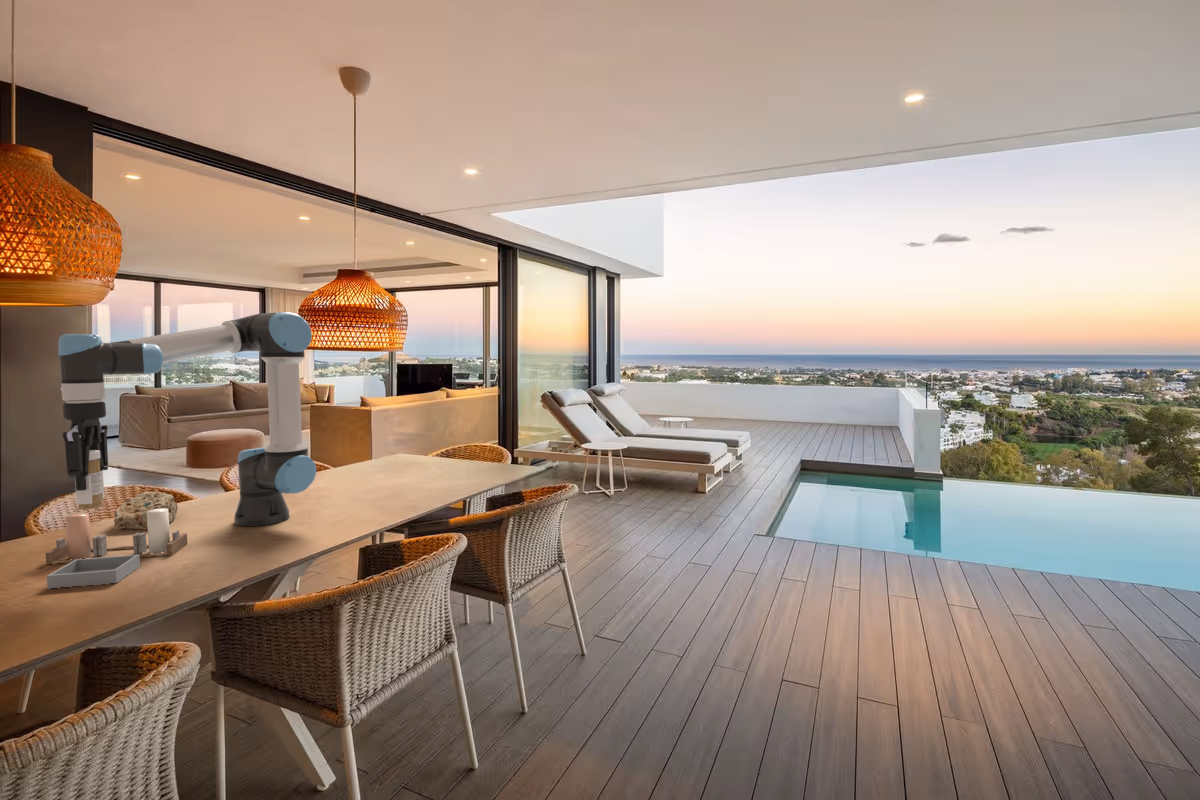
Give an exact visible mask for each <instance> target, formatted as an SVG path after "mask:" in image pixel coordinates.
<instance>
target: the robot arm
mask: <svg viewBox="0 0 1200 800" xmlns="http://www.w3.org/2000/svg"><path fill="white" fill-rule="evenodd" d="M312 334H313V333H312V330H311V326H310V325H309V323H308V322H307V320H305V318H303V316H301V315H300V314H297V313H294V312H286V311H277V312H268V313H265V312H264V313H263V312H262V313H256V314H252V315H248V316H244V317H241V318H237V319H233V320H232V319H231V320H226V321H223V322H222V323H221V325H216V326H215V325H214V326H209V327H203V328H202V327H201V328H197V329H191V330H190V329H189V330H184V331H177V332H171V333H170V332H169V333H165V334H163V333H162V334H158V335H157V334H156V335H152V336H145V337H140V338H132V339H127V340H121V341H120V340H119V341H114V342H103V341H102V337H101V336H100V335H99V334H90V333H89V334H88V333H82V334H81V333H80V334H79V333H64V334H62V335H61V336H59V338H58V345H57V346H58V353H57V356H58V361H59V371H60V383H61V387H60V391H61V398H62V401H65V402H64V403H63V404H62V416H63V418H64V420H67V421H69V420H70V421H71V423H70V431H64V432H62V437H63V440H64V445H65V446H64V447H65V459H66V470H67V471H66V472H67V475H68V477H69V478H70V477H71V478H72V477H74V485H75V499H76V501H75V502H76V505H79V504H91V503H93V502H92V487H91V475H88V465H89V450H99V451H100V471H101V484H102V500H103V499H104V498H105V485H104V471H107V470H108V469H109V455H108V454H109V453H108V436H107V435H108V425H107V424H105V425H104V424H103V425H101V421H100V419H102V418H105V417H106V416H107V410H106V409H107V408H106V403H105V401H103V400H105V399H106V390H105V378H104V376H112V375H144V376H145V375H148V374H149V375H150V374H157V373H159V372H160V371H161V370H162V369H163V365H164V364H165V363H169V362H175V361H180V360H182V361H183V360H186V359H187V360H188V359H191V358H196V357H202V356H208V355H213V354H217V353H218V354H220V353H223V352H230V353H232V354H237V353H241V352H260V353H259V354H260V359H261V360H262V361H264V362H265V363H266V373H267V374H266V378H267V399H268V401H267V402H268V405H267V406H268V425H269V444H268V446H265V447H264V446H263V447H257V448H256V447H255V448H250V449H244V450H241V451H239V453H238V455H237V457H238V458H237V465H238V466H237V467H238V469H237V470H238V485H239V499H238V504H237V507H236V510H235V513H234V516H233V517H234V520H233V521H234V524H235V525H236V526H239V527H257V526H258V527H259V526H268V525H274V524H278V523H280V522H283V521H285V520H288V519H289V518H290V510H289V507H288V504H287V502H286V499H285V496H284V494H287V495H288V494H293V495H294V494H299V493H301V492H305V490H307V489H308V488H309V487H310V485H312V484H313V482H314V481H315V479H316V474H317V465H316V463H315V461H314V460H313V459H312V458H311V457H309V453H308V452H309V450H308V445H306V444H305V443H304V442H303V438H302V437H303V436H302V435H303V434H302V433H303V432H302V430H303V429H302V409H301V408H302V407H301V406H302V405H301V381H300V380H301V379H300V363H301V362H302V361H303V360H304V359H305V350H306V349H308V347H309V346H310V345H311V342H312V339H313V338H312V336H313V335H312Z"/></svg>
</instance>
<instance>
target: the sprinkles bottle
mask: <svg viewBox="0 0 1200 800" xmlns="http://www.w3.org/2000/svg"><path fill="white" fill-rule="evenodd" d="M88 475H91V487H92V502H93V503H91V504H78V505H77V506H78V507H77V509H78V510H80V511H88V510H89V511H90V510H94V509H99V508H102V507H103V506H104V504H103V499H102V484H101V471H100V451H99V450H89V465H88Z"/></svg>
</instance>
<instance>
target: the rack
mask: <svg viewBox="0 0 1200 800" xmlns="http://www.w3.org/2000/svg"><path fill="white" fill-rule="evenodd" d="M171 537H172V540H170V542H169V543H168V544H166V548H167V552H164V553H153V554H150V553H146V552H147V551H148V550H147V549H148V548H147V547H149V544H147V533H146V531H145V532H136V533H135V534H133V535H132V542H133V543H132V544H133V545H123V546H107V535H106V534H103V535H99V534H98V535H95V536H94V537H93V538H92V539H91V542H92V547H91V551H93V552H92V553H93V554H92V555H93V557H94V556H97V557H98V558H100V557H99V556H102V557H104V556H105V555H104V554H106V553H107V554H108V551H107V550H109V551H114V550H113V549H123V550H127V549H126V548H134V549H133V555H138V554H139V553H143V552H144V553H143V554H139V555H140V557H145V558H152V557H151V556H158V557H164V556H163V555H172V556H174V555H175V554H176V553H178V552H179V551H180V550H181V549H183V548H184V547H186V546H187V545H188V533H187V532H183V533H181V534H180V530H178V529H176V530H174V531H173V532H172V536H171ZM55 545H56V547H55V548H53V549H50V550H49V551H47V552H45V563H46V564H52V565H58V564H57V563H65V564H68V563H69V562H72V561H74V560H76V559H72V560H69V559H65V558H67V557H68V549H67V541H66V537H61V538H59V539H57V540H56V541H55ZM146 550H147V551H146ZM137 553H138V554H137ZM107 554H106V555H107ZM173 554H174V555H173ZM98 555H99V556H98ZM103 555H104V556H103ZM66 556H67V557H66ZM125 556H127V555H126V554H125ZM64 557H65V558H64ZM62 558H63V559H62ZM60 559H61V560H60ZM84 559H86V558H84Z"/></svg>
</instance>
